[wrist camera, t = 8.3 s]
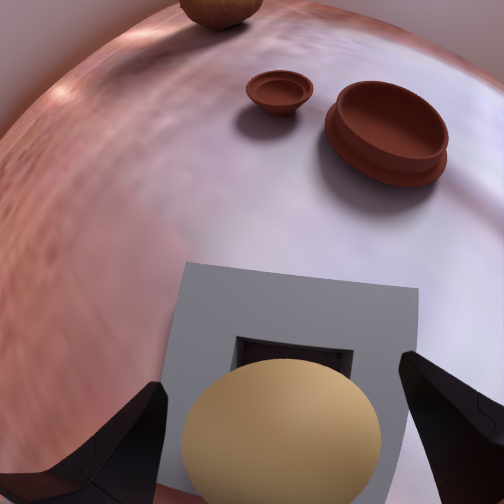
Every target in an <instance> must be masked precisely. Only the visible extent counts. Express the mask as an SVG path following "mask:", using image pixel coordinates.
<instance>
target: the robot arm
mask: <svg viewBox="0 0 504 504" xmlns="http://www.w3.org/2000/svg"><path fill="white" fill-rule="evenodd" d="M398 372H399V376H400V380H401V383H402V387H403V390H404V394H405V397H406V401H407V404H408V407H409V410H410V413H411V415H412V418H413V420H414V423H415V425H416V428H417V431H418V433H419V436H420V439H421V441H422V444H423V447H424V450H425V452H426V455H427V458H428V461H429V464H430V467H431V470H432V473H433V476H434V479H435V482H436V486H437V489H438V493H439V496H440V499H441V503H442V504H504V406H503V405H501V404H499V403H497V402H495V401H493V400H491V399H490V398H488V397H486V396H485V395H483V394H481V393H480V392H477V391H476V390H475V389H473V388H472V387H470V386H469V385H467V384H465V383H464V382H462V381H461V380H459V379H457V378H456V377H454V376H453V375H451V374H449V373H448V372H446V371H445V370H443V369H442V368H440V367H438V366H437V365H435V364H434V363H432V362H430V361H429V360H427V359H426V358H424V357H422V356H421V355H419V354H418V353H416V352H414V351H412V350H410V351H407V352H403V353H402V355H401V359H400V363H399V367H398ZM167 412H168V395H167V393H166V391H165V389H164V387H163V385H162V383H161V382H155V381H151V382H149V383H148V384H147V385H146V386H145V387H144V388H143V389H142V390H141V391H140V392H139V393H138V394H136V395H135V396H134V397H133V398H132V399H131V400H130V401H129V402H128V403H127V404H126V405H125V406H124V407H123V408H122V409H121V410H120V411H118V412H117V413H116V414H115V415H114V416H113V417H112V418H111V419H110V420H109V421H108V422H107V423H106V424H105V425H104V426H102V427H101V428H100V429H99V430H98V431H97V432H96V433H95V434H94V436H92V437H90V438H89V439H88V440H87V441H86V442H85V443H84V444H83V445H81V446H80V447H79V448H78V449H77V450H75V451H74V452H73V453H71V454H70V455H69V456H67V457H66V458H65V459H63V460H62V461H60V462H59V463H58V464H56V465H55V466H53V467H52V468H50V469H48V470H46V471H43V472H38V473H0V494H1V495H2V496H4V497H3V500H2V502H1V504H153V499H154V493H155V487H156V481H157V476H158V470H159V465H160V460H161V455H162V450H163V445H164V440H165V434H166V424H167Z"/></svg>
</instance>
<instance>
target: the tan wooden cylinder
mask: <svg viewBox="0 0 504 504" xmlns="http://www.w3.org/2000/svg"><path fill="white" fill-rule="evenodd" d="M380 448H381V432H380V426H379V422H378V418H377V416H376V413H375V411H374V408H373V406H372V405H371V403H370V401H369V400H368V398H367V397H366V396H365V394H364V393H363V392H362V391H361V389H360V388H358V387H357V386H356V385H355V384H354V383H353V382H352V381H351V380H349V379H348V378H346V377H345V376H343V375H342V374H340V373H338V372H337V371H335V370H333V369H331V368H328V367H326V366H323V365H320V364H317V363H313V362H309V361H304V360H296V359H273V360H264V361H260V362H255V363H251V364H248V365H245V366H243V367H240V368H237V369H235V370H233V371H231V372H229V373H227V374H225V375H224V376H222V377H221V378H219V379H218V380H216V381H215V382H214V383H213V384H212V385H210V386H209V387H208V388H207V389H206V390H205V391H204V392H203V393H202V394H201V395H200V397H199V398H198V399H197V400H196V402H195V403H194V405H193V406H192V408H191V410H190V412H189V414H188V416H187V418H186V421H185V425H184V428H183V433H182V440H181V452H182V458H183V463H184V467H185V470H186V473H187V475H188V477H189V479H190V481H191V483H192V485H193V486H194V488H195V489H196V491H197V492H198V493H199V494H200V495H201V497H202V498H203V499H204V500H205V501H206V502H207V503H208V504H350V503H351V502H352V501H353V500H354V499H355V498H356V497H357V496H358V495H359V494H360V493H361V492H362V490H363V489H364V488H365V487H366V485H367V484H368V482H369V480H370V479H371V477H372V475H373V473H374V471H375V468H376V466H377V463H378V459H379V455H380Z"/></svg>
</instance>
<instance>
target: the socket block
mask: <svg viewBox="0 0 504 504" xmlns="http://www.w3.org/2000/svg"><path fill="white" fill-rule="evenodd" d="M417 330H418V288H408V287H398V286H388V285H378V284H368V283H358V282H349V281H340V280H331V279H322V278H313V277H304V276H295V275H287V274H278V273H270V272H262V271H254V270H246V269H238V268H230V267H222V266H214V265H206V264H199V263H191V262H186V265H185V269H184V273H183V277H182V281H181V286H180V290H179V294H178V298H177V303H176V307H175V312H174V316H173V321H172V325H171V330H170V335H169V340H168V345H167V350H166V355H165V360H164V365H163V370H162V376H161V381H160V382H161V383H162V385H163V387H164V389H165V391H166V393H167V395H168V412H167V424H166V434H165V440H164V445H163V450H162V455H161V460H160V465H159V470H158V476H157V481H156V483H159V484H162V485H165V486H167V487H170V488H173V489H176V490H180V491H183V492H186V493H189V494H193V495H196V496H200V497H201V495H200V494H199V493H198V492H197V491H196V489H195V488H194V486H193V485H192V483H191V481H190V479H189V477H188V475H187V473H186V470H185V467H184V463H183V458H182V452H181V440H182V433H183V428H184V425H185V421H186V418H187V416H188V414H189V412H190V410H191V408H192V406H193V405H194V403H195V402H196V400H197V399H198V398H199V397H200V395H201V394H202V393H203V392H204V391H205V390H206V389H207V388H208V387H209V386H210V385H212V384H213V383H214V382H215V381H216V380H218V379H219V378H221V377H222V376H224V375H225V374H227V373H229V372H231V371H233V370H235V369H237V368H240V367H241V361H242V356H243V350H244V344H245V341H246V342H252V343H259V344H266V345H273V346H280V347H288V348H296V349H304V350H313V351H323V352H334V353H342V356H341V363H340V371H339V373H340V374H342V375H343V376H345V377H346V378H348V379H349V380H351V381H352V382H353V383H354V384H355V385H356V386H357V387H358V388H360V389H361V391H362V392H363V393H364V394H365V396H366V397H367V398H368V400H369V401H370V403H371V405H372V406H373V408H374V411H375V413H376V416H377V418H378V422H379V426H380V432H381V448H380V455H379V459H378V463H377V466H376V468H375V471H374V473H373V475H372V477H371V479H370V480H369V482H368V484H367V485H366V487H365V488H364V489H363V490H362V492H361V493H360V494H359V495H358V496H357V497H356V498H355V499H354V500H353V501H352V502H351V503H350V504H385V501H386V498H387V495H388V492H389V489H390V486H391V483H392V479H393V476H394V472H395V469H396V465H397V462H398V458H399V454H400V450H401V446H402V441H403V437H404V432H405V427H406V422H407V417H408V411H409V407H408V404H407V401H406V397H405V394H404V390H403V387H402V383H401V380H400V376H399V372H398V367H399V363H400V359H401V355H402V353H403V352H407V351H410V350H412V351H414V352H416V346H417Z"/></svg>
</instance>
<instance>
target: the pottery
mask: <svg viewBox="0 0 504 504" xmlns="http://www.w3.org/2000/svg"><path fill="white" fill-rule="evenodd" d="M246 93H247V95H248V96H249V97H250V99H251V100H252V101H253V102H254V103H256V104H257V105H259V106H260V107H262V108H263V109H265V110H267V112H268V113H269V114H270V115H272V116H275V117H287V116H290V115H292V114H293V113H294V112H295V109H297V108H299V107H300V106H301V105H302V104H303V103H305V102H306V101H307V100H308V99H309V98H310V96H311V95H312V93H313V84H312V83H311V81H310V80H309V79H308V78H307V77H305V76H303V75H301V74H299V73H296V72H292V71H285V70H276V71H269V72H265V73H262V74H259V75H257V76H255V77H254V78H252V79H251V80H250V81H249V82H248V84H247V86H246ZM325 130H326V134H327V137H328V139H329V141H330V143H331V145H332V146H333V148H334V149H335V150H336V152H337V153H338V154H339V155H340V156H341V157H342V158H343V159H344V160H345V161H346V162H347V163H349V164H350V165H351V166H353V167H354V168H355V169H357V170H358V171H360V172H362V173H363V174H365V175H367V176H369V177H371V178H373V179H376V180H378V181H381V182H384V183H387V184H391V185H395V186H401V187H419V186H424V185H427V184H430V183H432V182H434V181H435V180H436V179H438V178H439V177H440V176H441V175H442V173H443V172H444V170H445V167H446V163H447V151H446V148H447V145H448V140H449V136H448V131H447V127H446V125H445V123H444V121H443V119H442V118H441V116H440V115H439V114H438V112H437V111H436V110H435V109H434V108H433V107H432V106H431V105H430V104H429V103H428V102H427V101H425V100H424V99H423V98H421V97H420V96H418V95H417V94H415V93H413V92H411V91H409V90H407V89H405V88H403V87H400V86H397V85H394V84H391V83H386V82H380V81H362V82H357V83H354V84H351V85H349V86H347V87H346V88H344V89H343V90H342V91H341V92H340V94H339V95H338V98H337V102H336V103H335V104H333V105H332V106H331V108H330V109H329V111H328V112H327V115H326V118H325Z"/></svg>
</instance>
